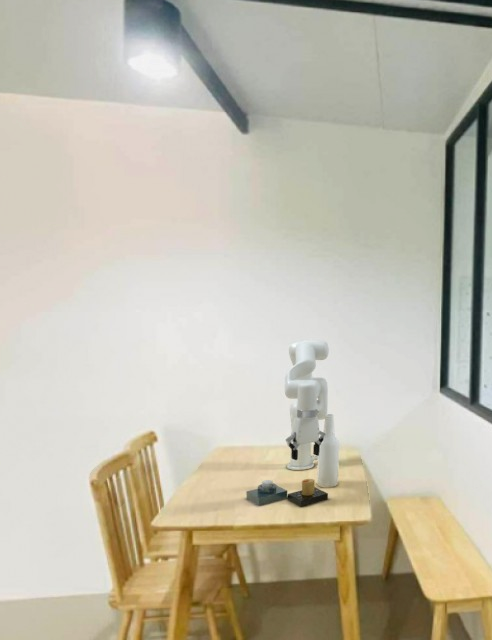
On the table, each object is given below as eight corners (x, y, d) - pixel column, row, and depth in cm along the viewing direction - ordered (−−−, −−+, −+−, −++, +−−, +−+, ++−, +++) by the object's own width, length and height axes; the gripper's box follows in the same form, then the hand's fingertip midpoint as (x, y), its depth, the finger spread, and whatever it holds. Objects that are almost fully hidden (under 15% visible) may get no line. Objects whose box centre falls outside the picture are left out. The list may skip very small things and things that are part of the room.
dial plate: (313, 493, 206) (314, 486, 206) (327, 499, 199) (328, 492, 199) (287, 500, 197) (287, 493, 197) (301, 507, 190) (301, 500, 190)
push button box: (274, 491, 206) (274, 479, 206) (287, 498, 199) (287, 485, 200) (246, 498, 198) (246, 486, 198) (258, 506, 191) (258, 492, 191)
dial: (309, 490, 202) (310, 477, 202) (316, 493, 198) (316, 480, 198) (299, 493, 198) (299, 479, 198) (305, 496, 195) (306, 482, 195)
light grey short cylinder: (269, 484, 201) (269, 479, 201) (274, 487, 199) (274, 481, 199) (260, 486, 199) (260, 481, 199) (264, 489, 196) (265, 484, 196)
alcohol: (337, 487, 213) (339, 416, 213) (316, 488, 212) (318, 417, 212) (338, 480, 222) (340, 412, 222) (317, 481, 220) (319, 413, 221)
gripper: (320, 410, 209) (319, 451, 208) (282, 415, 196) (280, 459, 196) (330, 412, 203) (329, 455, 203) (292, 418, 191) (290, 463, 191)
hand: (305, 457), depth 199 cm, fingers open, 9 cm apart
